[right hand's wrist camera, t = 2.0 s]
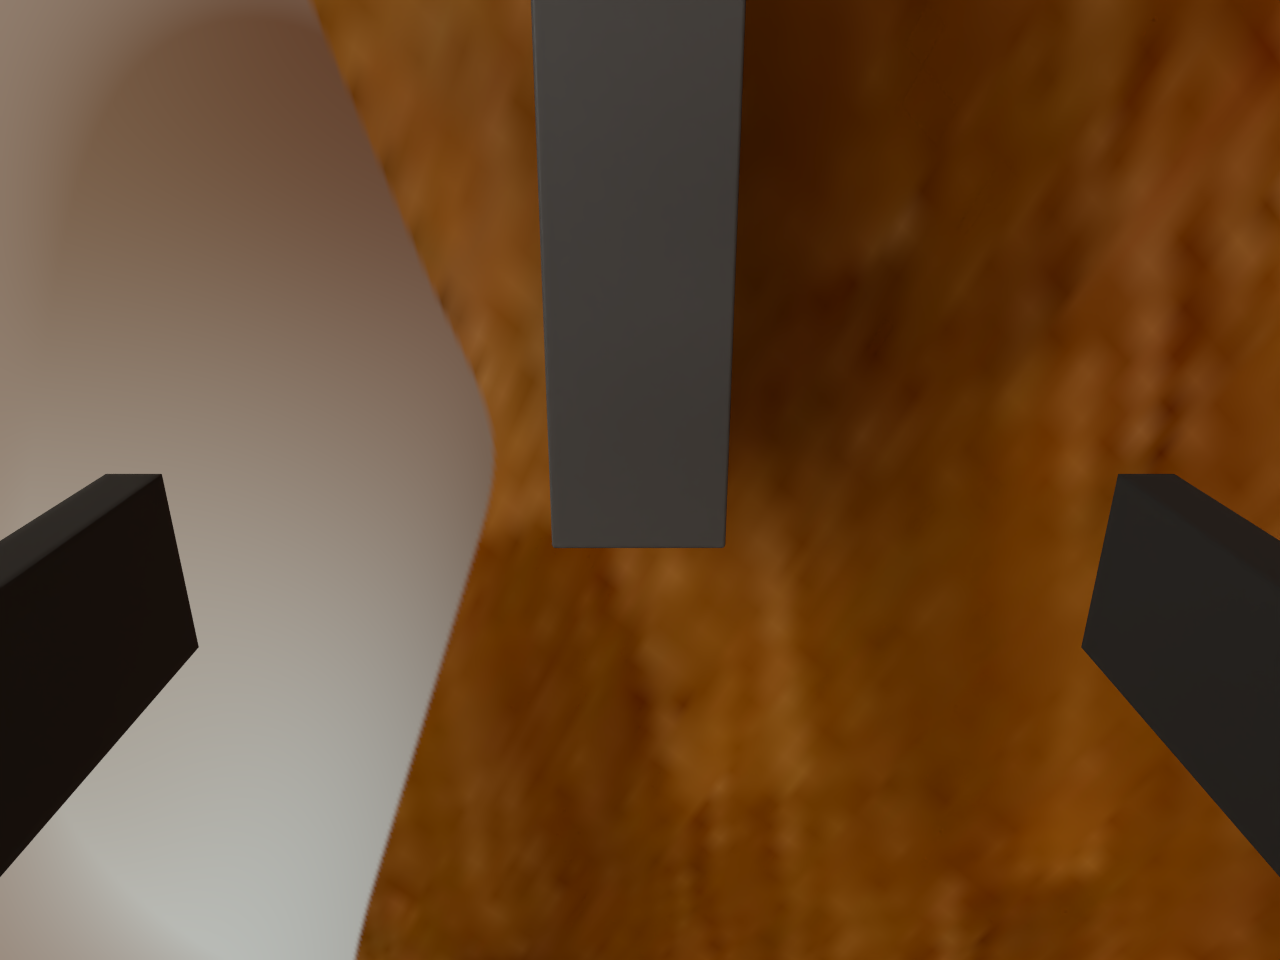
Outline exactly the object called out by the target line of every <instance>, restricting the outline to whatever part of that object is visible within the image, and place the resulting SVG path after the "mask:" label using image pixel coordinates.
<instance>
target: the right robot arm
mask: <svg viewBox="0 0 1280 960" xmlns="http://www.w3.org/2000/svg"><path fill="white" fill-rule="evenodd" d="M197 648H198V642H197V637H196V633H195V628H194V623H193V618H192V614H191V609H190V604H189V600H188V595H187V590H186V586H185V581H184V576H183V572H182V567H181V562H180V558H179V553H178V548H177V544H176V539H175V534H174V529H173V525H172V520H171V515H170V511H169V506H168V501H167V497H166V492H165V487H164V483H163V478H162V474H105V475H104V476H102V477H101V478H99V479H97V480H96V481H94V482H93V483H91V484H89V485H88V486H86V487H85V488H83V489H82V490H80V491H78V492H77V493H75V494H74V495H72V496H70V497H69V498H67V499H66V500H64V501H63V502H61V503H59V504H58V505H56V506H55V507H53V508H51V509H50V510H48V511H47V512H45V513H44V514H42V515H41V516H39V517H37V518H36V519H34V520H33V521H31V522H29V523H28V524H26V525H25V526H23V527H22V528H20V529H18V530H17V531H15V532H14V533H12V534H10V535H9V536H7V537H6V538H4V539H3V540H1V541H0V877H1V875H2V874H3V873H4V872H5V871H6V870H7V868H8V867H9V866H10V865H11V864H12V863H13V862H14V860H15V859H16V858H17V857H18V856H19V855H20V853H21V852H22V851H23V850H24V849H25V848H26V846H27V845H28V844H29V843H30V842H31V841H32V840H33V838H34V837H35V836H36V835H37V834H38V833H39V831H40V830H41V829H42V828H43V827H44V826H45V824H46V823H47V822H48V821H49V820H50V819H51V818H52V816H53V815H54V814H55V813H56V812H57V811H58V809H59V808H60V807H61V806H62V805H63V804H64V802H65V801H66V800H67V799H68V798H69V797H70V796H71V794H72V793H73V792H74V791H75V790H76V789H77V787H78V786H79V785H80V784H81V783H82V782H83V780H84V779H85V778H86V777H87V776H88V775H89V774H90V772H91V771H92V770H93V769H94V768H95V767H96V765H97V764H98V763H99V762H100V761H101V760H102V758H103V757H104V756H105V755H106V754H107V753H108V752H109V750H110V749H111V748H112V747H113V746H114V744H115V743H116V742H117V741H118V740H119V739H120V738H121V736H122V735H123V734H124V733H125V732H126V731H127V730H128V728H129V727H130V726H131V725H132V724H133V723H134V721H135V720H136V719H137V718H138V717H139V716H140V714H141V713H142V712H143V711H144V710H145V709H146V707H147V706H148V705H149V704H150V703H151V702H152V700H153V699H154V698H155V697H156V696H157V695H158V694H159V692H160V691H161V690H162V689H163V688H164V687H165V685H166V684H167V683H168V682H169V681H170V680H171V679H172V677H173V676H174V675H175V674H176V673H177V672H178V670H179V669H180V668H181V667H182V666H183V665H184V663H185V662H186V661H187V660H188V659H189V658H190V657H191V655H192V654H193V653H194V652H195V651H196V650H197ZM1082 648H1083V650H1084V651H1085V652H1086V653H1087V654H1088V655H1089V657H1090V658H1091V659H1092V660H1093V661H1094V662H1095V663H1096V665H1097V666H1098V667H1099V668H1100V669H1101V670H1102V672H1103V673H1104V674H1105V675H1106V676H1107V677H1108V679H1109V680H1110V681H1111V682H1112V683H1113V684H1114V685H1115V687H1116V688H1117V689H1118V690H1119V691H1120V692H1121V694H1122V695H1123V696H1124V697H1125V698H1126V699H1127V701H1128V702H1129V703H1130V704H1131V705H1132V706H1133V708H1134V709H1135V710H1136V711H1137V712H1138V713H1139V714H1140V716H1141V717H1142V718H1143V719H1144V720H1145V721H1146V723H1147V724H1148V725H1149V726H1150V727H1151V728H1152V730H1153V731H1154V732H1155V733H1156V734H1157V735H1158V736H1159V738H1160V739H1161V740H1162V741H1163V742H1164V743H1165V745H1166V746H1167V747H1168V748H1169V749H1170V750H1171V752H1172V753H1173V754H1174V755H1175V756H1176V757H1177V758H1178V760H1179V761H1180V762H1181V763H1182V764H1183V765H1184V767H1185V768H1186V769H1187V770H1188V771H1189V772H1190V774H1191V775H1192V776H1193V777H1194V778H1195V779H1196V780H1197V782H1198V783H1199V784H1200V785H1201V786H1202V787H1203V789H1204V790H1205V791H1206V792H1207V793H1208V794H1209V796H1210V797H1211V798H1212V799H1213V800H1214V801H1215V802H1216V804H1217V805H1218V806H1219V807H1220V808H1221V809H1222V811H1223V812H1224V813H1225V814H1226V815H1227V816H1228V818H1229V819H1230V820H1231V821H1232V822H1233V823H1234V824H1235V826H1236V827H1237V828H1238V829H1239V830H1240V831H1241V833H1242V834H1243V835H1244V836H1245V837H1246V838H1247V840H1248V841H1249V842H1250V843H1251V844H1252V845H1253V846H1254V848H1255V849H1256V850H1257V851H1258V852H1259V853H1260V855H1261V856H1262V857H1263V858H1264V859H1265V860H1266V862H1267V863H1268V864H1269V865H1270V866H1271V867H1272V868H1273V870H1274V871H1275V872H1276V873H1277V874H1278V875H1279V877H1280V541H1279V540H1277V539H1276V538H1274V537H1273V536H1271V535H1270V534H1268V533H1266V532H1265V531H1263V530H1262V529H1260V528H1259V527H1257V526H1255V525H1254V524H1252V523H1251V522H1249V521H1247V520H1246V519H1244V518H1243V517H1241V516H1240V515H1238V514H1236V513H1235V512H1233V511H1232V510H1230V509H1229V508H1227V507H1225V506H1224V505H1222V504H1221V503H1219V502H1217V501H1216V500H1214V499H1213V498H1211V497H1210V496H1208V495H1206V494H1205V493H1203V492H1202V491H1200V490H1199V489H1197V488H1195V487H1194V486H1192V485H1191V484H1189V483H1187V482H1186V481H1184V480H1183V479H1181V478H1180V477H1178V476H1176V475H1175V474H1118V478H1117V482H1116V487H1115V492H1114V497H1113V501H1112V506H1111V511H1110V515H1109V520H1108V525H1107V529H1106V534H1105V539H1104V543H1103V548H1102V553H1101V558H1100V562H1099V567H1098V572H1097V576H1096V581H1095V586H1094V590H1093V595H1092V600H1091V604H1090V609H1089V614H1088V618H1087V623H1086V628H1085V633H1084V637H1083V642H1082Z"/></svg>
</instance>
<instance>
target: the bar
mask: <svg viewBox="0 0 1280 960" xmlns="http://www.w3.org/2000/svg"><path fill="white" fill-rule="evenodd" d="M745 8H746V0H531V13H532V38H533V64H534V89H535V115H536V140H537V166H538V191H539V217H540V243H541V268H542V294H543V319H544V345H545V370H546V396H547V421H548V447H549V473H550V498H551V524H552V545H553V547H554V548H723V547H724V546H725V536H726V510H727V483H728V457H729V430H730V404H731V378H732V351H733V325H734V298H735V272H736V246H737V219H738V193H739V167H740V140H741V114H742V87H743V61H744V35H745Z"/></svg>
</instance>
